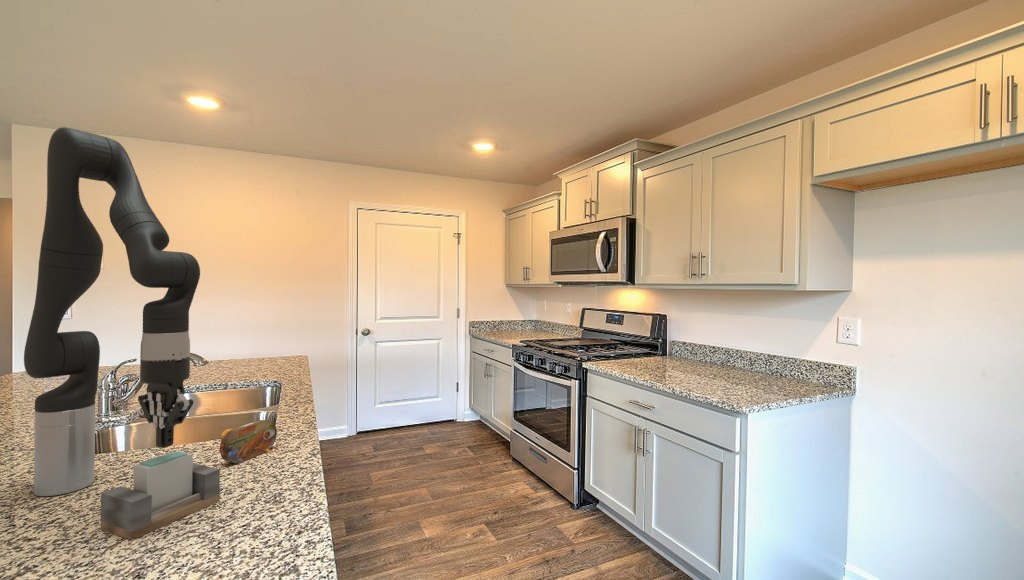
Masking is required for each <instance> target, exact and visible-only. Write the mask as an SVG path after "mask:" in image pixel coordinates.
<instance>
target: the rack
mask: <svg viewBox="0 0 1024 580" xmlns="http://www.w3.org/2000/svg"><path fill="white" fill-rule="evenodd" d="M220 480H221V469H220V468H215V467H212V466H208V465H204V464H200V463H199V464H198V463H195V462H193V467H192V496H189V497H187V498H185V499H182V500H180V501H177V502H175V503H172V504H170V505H168V506H165V507H163V508H160V509H158V510H156V511H153V512H152V495H149V494H146V493H142V492H139V491H135V490H133V489H132V488H128V487H125V486H118V487H115V488H112V489H108V490H106V491H103V492H100V530H101V529H102V530H101V531H104V532H106V533H110V534H113V535H115V536H119V537H121V538H123V539H126V538H128V539H127V540H129V539H131V540H130V541H134V540H136V539H139V538H140V537H143V536H145V535H147V534H149V533H151V531H152V532H153V531H156V530H158V529H160V528H162V527H163V528H164V527H165V526H167V525H169V523H170V524H172V523H174V522H176V521H178V519H179V520H180V518H181V519H183V518H185V517H187V516H190V515H192V514H194V513H196V512H199V511H200V509H201V510H202V509H205V508H207V506H208V507H210V506H212V505H214V504H216V503H219V502H220V489H221V488H220V485H221V484H220V483H221V481H220ZM209 505H210V506H209ZM198 510H199V511H198ZM193 512H194V513H193ZM191 513H192V514H191ZM189 514H190V515H189ZM186 515H187V516H186ZM184 516H185V517H184ZM182 517H183V518H182ZM171 522H172V523H171ZM135 538H136V539H135ZM133 539H134V540H133Z"/></svg>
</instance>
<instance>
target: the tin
mask: <svg viewBox="0 0 1024 580" xmlns="http://www.w3.org/2000/svg"><path fill="white" fill-rule="evenodd" d="M231 429H232V430H230V431H229V432H227V433H226V434H225V436H224V437H223V438H222V440H221V439H220V442H219V443H220V445H219V453H220V457H221V458H222V459H223V460H224V461H225V462H228V463H233V464H241V463H243V462H245V461H248V460H250V459H253V458H255V457H257V456H259V455H261V454H265V453H267V452H266V449H269V450H271V448H272V447H273V446H274V444H275V442H276V440H277V435H278V433H277V431H278V429H277V426H276V424H275V423H274V422H273V421H272V420H270V419H259V420H255V421H253V422H250V423H247V424H243V425H241V426H238V427H235V428H231Z"/></svg>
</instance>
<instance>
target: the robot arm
mask: <svg viewBox="0 0 1024 580" xmlns="http://www.w3.org/2000/svg"><path fill="white" fill-rule="evenodd" d="M47 148H48V149H47V159H46V160H47V161H46V180H47V181H46V206H45V207H46V208H45V217H44V223H43V224H44V225H43V232H42V236H41V244H40V251H39V260H38V270H37V282H36V294H35V300H34V306H33V311H32V316H31V319H30V323H29V328H28V332H27V337H26V341H25V345H24V351H23V364H24V369H25V372H26V374H27V375H28V376H29V377H31V378H33V379H49V378H55V377H63V376H69V377H68V378H67V379H66V380H65V381H64V382H63V383H62V384H60V385H59V386H57V387H55V388H53V389H50V390H48V391H46V392H44V393H42V394H39V395H38V396H37V397H36V398H35V400H34V443H33V444H34V445H33V451H34V454H33V455H34V456H33V457H34V458H33V462H34V463H33V494H34V495H35V496H37V497H52V496H60V495H65V494H69V493H72V492H76V491H79V490H81V489H85V488H86V487H89V486H90V485H92V484H93V483H94V482H95V464H96V463H95V459H96V458H95V457H96V455H95V454H96V453H95V450H96V447H95V446H96V445H95V444H96V442H95V441H96V439H95V438H96V397H97V392H98V387H99V386H98V385H99V384H98V383H99V369H100V368H99V367H100V360H101V358H100V357H101V347H100V342H99V338H98V337H97V335H96V334H95V333H93V332H92V331H88V330H75V331H62V332H60V331H59V328H60V325H61V324H62V320H63V318H64V316H65V315H66V313H67V312H68V310H70V308H71V307H72V306H73V305H74V304H75V302H77V301H78V300H79V299H80V298H81V297H82V296H83V295H84V294H85V293H86V292H87V291H88V290H89V289H90V288H91V287H92V286H93V285H94V283H95V282H96V281H97V279H98V278H99V276H100V273H101V269H102V261H103V257H104V256H103V255H104V243H103V240H102V238H101V236H100V234H99V232H98V230H97V229H96V227H95V225H94V224H93V223H92V221H91V220H90V217H89V216H88V214H87V213H86V211H85V210H84V207H83V205H82V202H81V198H80V179H87V180H91V181H97V182H105V183H106V184H108V185H109V186H110V187H111V188H112V189H113V191H114V192H115V193H114V197H113V200H112V201H111V204H110V207H109V210H108V211H109V212H108V213H109V221H110V223H111V226H112V227H113V229H114V230H115V232H116V234H117V235H118V237H119V238H120V240H121V241H122V243H123V245H124V246H125V251H126V256H127V260H128V266H129V273H130V276H131V277H132V279H133V280H134V282H136V283H138V284H139V285H141V286H142V287H145V288H150V289H167V291H166V293H165V294H164V296H163V297H162V298H161V299H157V300H153V301H152V300H151V301H149V302H147V303H146V304H144V306H143V309H142V336H141V340H140V357H139V358H140V359H139V361H140V364H139V365H140V366H139V369H140V371H139V373H140V375H139V376H140V377H139V380H140V382H141V383H143V384H146V385H147V386H146V389H145V390H146V393H145V394H142V395H138V397H137V400H138V403H139V405H140V407H141V410H142V411H143V414H144V416H145V419H146V420H147V423H148V424H153V428H154V429H155V434H156V435H155V446H156V447H157V448H160V449H165V448H168V447H171V446H172V445H174V439H175V438H174V437H175V436H174V433H175V431H174V430H175V428H174V427H175V426H176V425H180V424H182V423H183V422H184V421H185V419H186V418H187V416H188V414H189V412H190V411H191V408H192V407H193V405H194V400H193V399H192V398H190V399H189V398H188V399H187V397H186V396H185V391H186V389H185V386H184V382H185V380H186V381H187V380H188V379H189V378H190V376H191V374H190V373H191V339H190V329H189V328H190V318H189V317H190V309H191V305H192V303H193V300H194V295H195V293H196V290H197V288H198V284H199V282H200V278H201V268H200V264H199V262H198V260H197V258H195V257H194V256H193V255H192V254H190V253H188V252H183V251H170V250H165V249H166V248H167V247H168V245H169V244H170V236H169V234H168V232H167V230H166V229H165V227H164V226H163V224H162V223H161V221H160V220H159V218H158V217H157V215H156V213H155V212H154V211H153V209H152V207H151V206H150V204H149V202H148V201H147V200H148V199H147V198H146V196H145V193H144V191H143V188H142V185H141V183H140V180H139V178H138V174H137V173H136V170H135V167H134V166H133V163H132V160H131V158H130V156H129V154H128V152H127V150H126V149H125V148H124V147H123V145H122V144H121V143H120V142H119V141H118V140H116V139H113V138H110V137H107V136H103V135H100V134H95V133H91V132H89V131H88V132H87V131H83V130H80V129H76V128H70V127H65V126H64V127H63V126H62V127H59V128H57V129H55V131H54V132H53V133H52V134H51V136H50V139H49V142H48V147H47ZM58 331H59V332H58Z"/></svg>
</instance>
